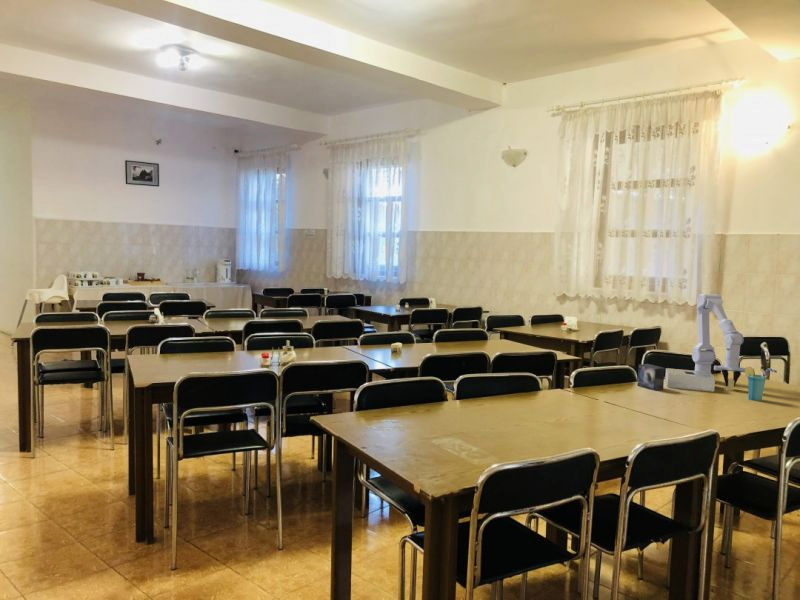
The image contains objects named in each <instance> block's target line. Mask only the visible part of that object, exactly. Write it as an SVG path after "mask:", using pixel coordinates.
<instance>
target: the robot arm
mask: <svg viewBox="0 0 800 600" xmlns="http://www.w3.org/2000/svg"><path fill="white" fill-rule="evenodd" d="M723 302H724V301H723V299H722V296H721V295H720V294H719V293H716V294H715V293H714V294H713V293H712V294H711V293H709V294H708V293H700V294H699V295H698V296H697V297H696V313H697V314H696V316H697V319H696V320H697V344H696V345H695V346H694V347H693V348H692V352H691V353H692V354H691V359H692V361H693V362H694V363H695V364H694V365H695V366H694V371H703V372H711V370H712V365H713V364H714V362H715V361H716V358H717V355H716V352H715V347H714V346H712V344H710V343H711V341H710V339H711V337H710V313H711V312H712V311H713V313H714V314H715V316H716V318H717V319H718V321H719V323H718V324H719V325H718V326H719V328H720V330H721V331H722V332H721V333H723V335H724V337H723V343H724V347H725V361H724V365H714V366H713V370H714V371H720V372H721V373H722V376H723V381H724V387H726V386H727V385H728V378H729V374H730V373H729V372H732V373H733V374H732V375H733V376H732V378H733V379H734V388H736V384H737V381H738V380H739V378H740V377H741V375H742V373H744V374H745V369H746V367H739V363H740V354H741V353H740V352H741V345H742V344H743V343H744V341H745V340H744V336H743V333H741V332H740V331H739V330H737V329H736V326H735V325H734V322H733V320H731V319H728V317H727V315H726V312H725V310H724V308H723ZM711 373H712V372H711Z"/></svg>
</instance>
